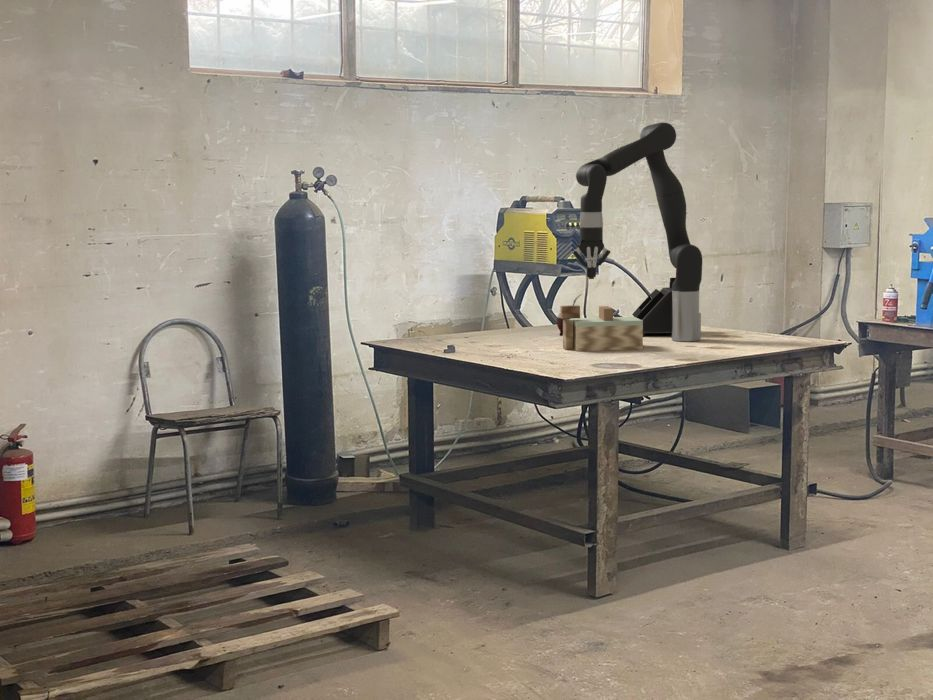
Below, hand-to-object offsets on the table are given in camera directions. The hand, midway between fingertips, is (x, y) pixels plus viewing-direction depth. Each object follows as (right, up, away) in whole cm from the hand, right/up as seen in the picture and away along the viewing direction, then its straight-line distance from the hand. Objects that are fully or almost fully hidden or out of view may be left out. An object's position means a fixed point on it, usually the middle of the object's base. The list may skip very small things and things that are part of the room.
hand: (591, 278), depth 374 cm
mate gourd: (-4, -18, +40) cm, 44 cm away
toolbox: (+4, -23, +3) cm, 23 cm away
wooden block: (-7, -13, +1) cm, 15 cm away
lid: (+5, -15, +2) cm, 16 cm away
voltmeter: (+28, -18, +39) cm, 51 cm away
